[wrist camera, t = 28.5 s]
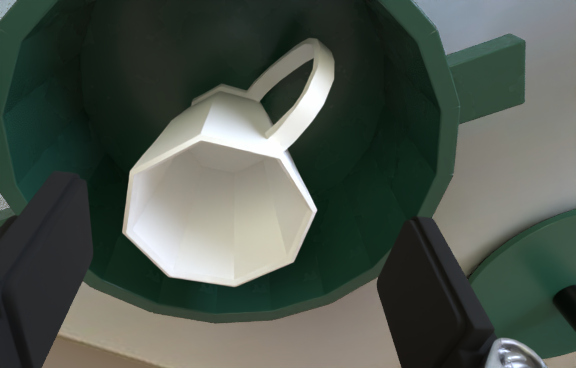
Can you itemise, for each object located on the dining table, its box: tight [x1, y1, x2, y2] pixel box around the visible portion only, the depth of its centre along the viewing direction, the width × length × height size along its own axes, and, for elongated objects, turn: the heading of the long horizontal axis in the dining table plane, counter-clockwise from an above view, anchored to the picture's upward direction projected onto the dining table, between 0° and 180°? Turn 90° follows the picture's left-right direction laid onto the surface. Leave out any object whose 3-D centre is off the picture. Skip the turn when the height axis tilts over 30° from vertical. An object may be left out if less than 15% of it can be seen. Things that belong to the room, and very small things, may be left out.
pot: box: [0, 0, 526, 323], centre depth 18 cm, size 16×22×8 cm
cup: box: [122, 38, 335, 287], centre depth 17 cm, size 7×10×8 cm
